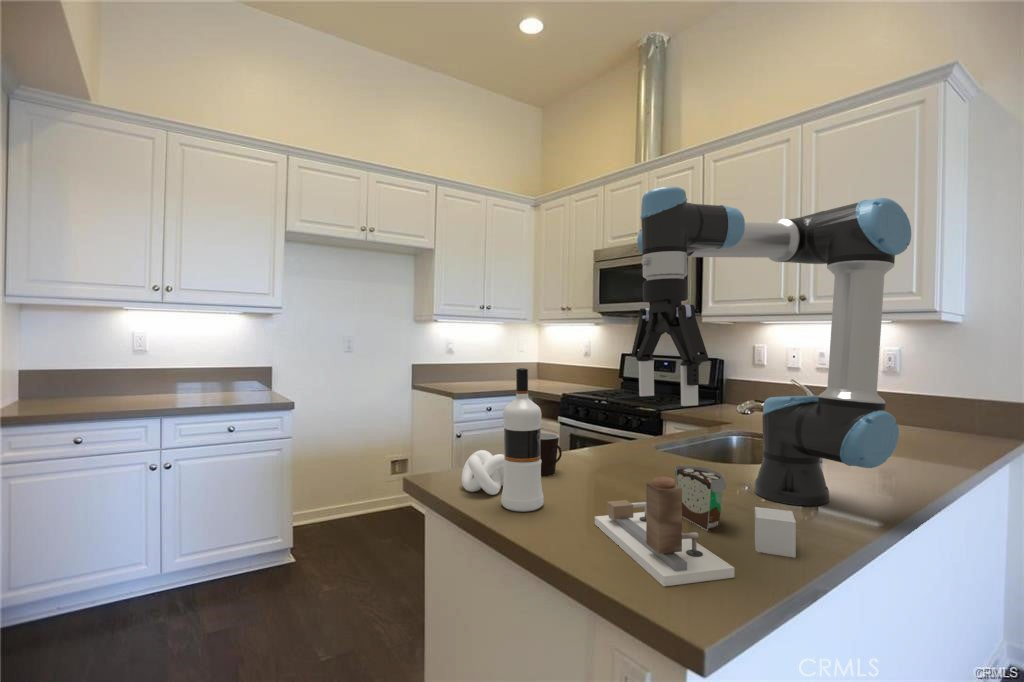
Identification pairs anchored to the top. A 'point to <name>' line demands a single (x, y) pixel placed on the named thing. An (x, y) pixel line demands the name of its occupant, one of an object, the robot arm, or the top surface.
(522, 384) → the vodka
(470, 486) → the white decorative knot
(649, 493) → the sliding handle
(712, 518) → the food container
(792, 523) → the white cube
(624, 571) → the top surface
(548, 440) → the coffee mug
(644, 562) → the board
